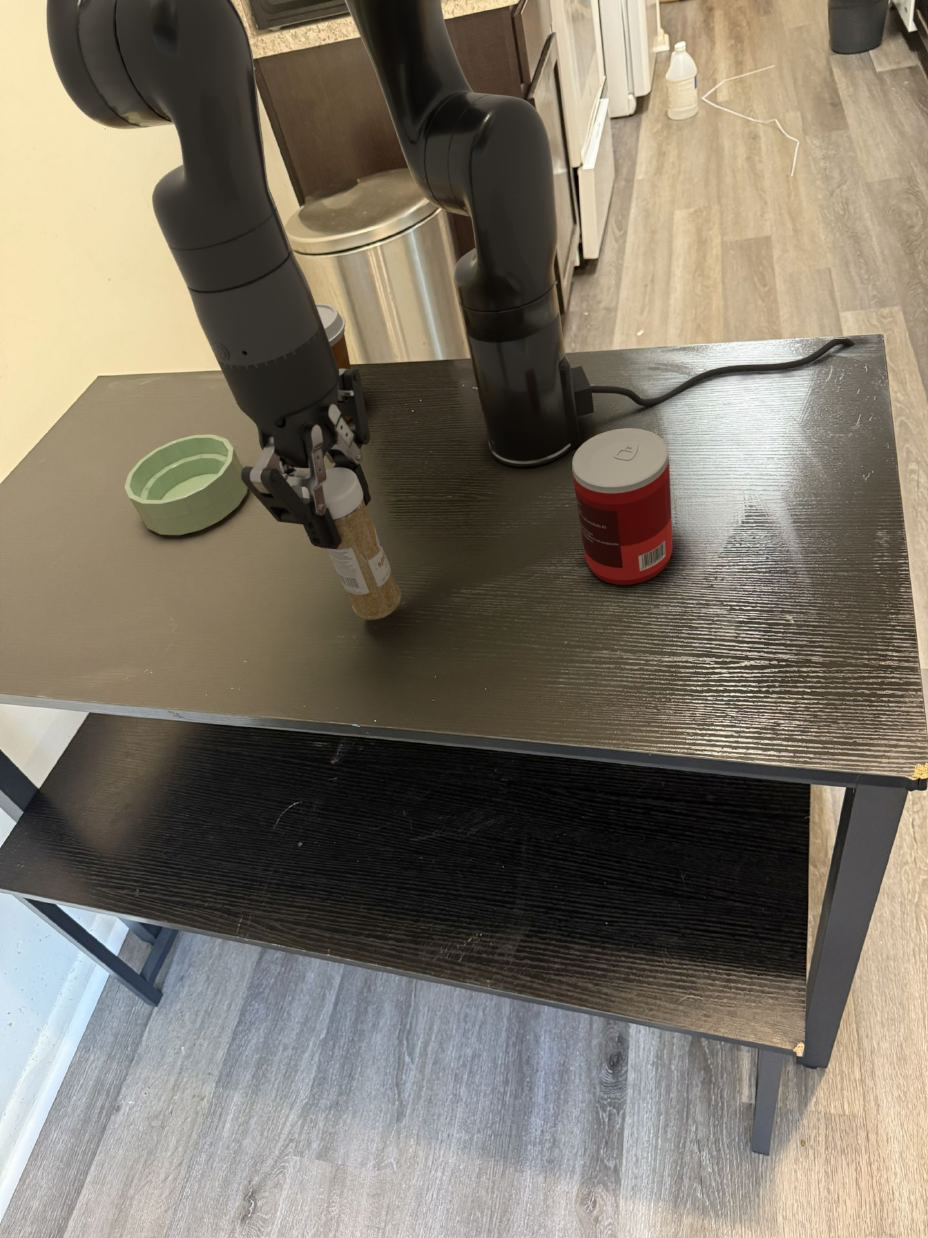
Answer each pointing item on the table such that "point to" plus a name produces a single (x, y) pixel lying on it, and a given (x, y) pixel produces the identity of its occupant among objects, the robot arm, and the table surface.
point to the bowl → (186, 484)
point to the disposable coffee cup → (335, 335)
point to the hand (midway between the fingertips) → (344, 522)
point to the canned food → (624, 504)
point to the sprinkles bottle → (358, 548)
